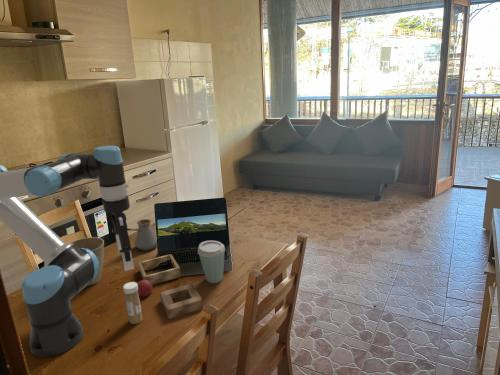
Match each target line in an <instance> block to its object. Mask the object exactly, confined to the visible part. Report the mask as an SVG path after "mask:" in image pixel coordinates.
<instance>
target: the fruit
mask: <svg viewBox="0 0 500 375" xmlns="http://www.w3.org/2000/svg"><path fill="white" fill-rule="evenodd" d="M136 283H137V285H138V294H139V296H140V297H143V298H144V297H147V296H149V295H150V294H151V292H152V290H153V285H152V284H151V282H150V281H148V280H143V279H142V280H139V281H138V282H136Z"/></svg>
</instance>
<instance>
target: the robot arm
mask: <svg viewBox="0 0 500 375" xmlns="http://www.w3.org/2000/svg"><path fill="white" fill-rule="evenodd" d="M89 179H90V180H98V186H99V190H100V197H101V199H102V206H103V210H104V212H105V213H108V214H111V216H110V217H111V221H112V224H113V228H114V229H115V230H114V229H113V230H114V231H115V232H114V234H115V240H116V244H117V245H116V246H117V252H118V254H121V258H122V263H123V268H124V272H129V271H130V270H135V266H134V260H133V254H132V253H133V252H132V250H133V248H132V246H131V242H130V241H131V240H130V236H129V231H127V228H128V224H127V216H126V214H125V211H128V210H129V209H130V206H131V204H130V200H129V196H128V188H129V187H130V186H129V184H127V183H126V176H125V169H124V159H123V157H122V152H121V148H120V147H118V146H117V145H103V146H102V145H101V146H98V147H97V146H96V147H95V148H94V149H93V152H92V153H75V152H73V153H67V154H63V155H60V156H59V158H58V160H56V161H53V162H50V163H47V164H43V165H37V166H30V167H26V168H25V167H24V168H20V169H19V168H18V169H13V170H8V169H7V168H6V167H5V166H4V165H2V164H0V221H1V222H2V223H3V224H4V225H5V226H6V227H7V228H8V229H9V230H10V231H11V232H12V233H13V234H14V235H15V236H16V237H18V239H19V240H21V242H23V243H24V245H26V246H27V247H28V248H29V249H30V250H31V251H32V252H33V253H34V254H35V255H37V257H39V259H40V260H42V261H43V262H44V265H43V266H42V267H41V268H37V269H34V270H33V271H32V272H30V273H29V274H28V275H26V277H24V279H23V281H22V283H21V292H22V294H21V295H22V299H23V302H24V305H25V308H26V311H27V315H28V318H29V322H30V334H29V342H28V343H29V348H30V349H29V350H30V353H31V354H32V353H33V354H32V355H34V356H35V355H36V357H39V358H48V357H49V358H50V357H55V356H58V355H61V354H63V353H66V352H68V351H69V350H71V349H72V348H74V347H75V346H77V345H78V344H79V343H80V341H81V340H82V338H83V336H84V328H83V326H82V323H81V322H80V320H79V319H78V318H77V317H76V315H75V314H74V313H73V309H72V304H71V300H72V299H73V298H75V297H76V296H77V295H78V294H79V293H80V292H81V291H83V289H84V288H86V287H87V286H90V285H89V284H90V283H91V282H92V281H93V279H94V278H95V277H96V276H97V275H98V272H99V262H98V259H97V257H96V255H95V254H94V253H93V252H92V251H91V250H89V249H85V248H80V249H78V248H77V247H76V246H75V245H74V244H69V243H66V242H65V241H64V240H63V239H62V238H61V237H60V236H59V235H57V233H56V232H55V231H54V230H52V229H51V227H49V226H48V225H47V223H45V222H44V221H43V220H42V219H41V218H40V217H39V216H38V215H37V214H36V213H35V212H34V211H33V210H32V209H31V208H29V206H27V204H25V202H23V201H22V199H20V198H19V197H25V196H36V197H40V198H41V197H46V196H49V195H52V194H55V193H56V192H57V191H60V190H62V189H65V188H66V187H69V186H70V185H73V184H75V183H77V182H80V181H82V180H89Z"/></svg>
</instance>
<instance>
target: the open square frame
mask: <svg viewBox="0 0 500 375" xmlns="http://www.w3.org/2000/svg"><path fill="white" fill-rule="evenodd" d="M167 260H171V263H172V265H173V267H174V268H173V267H172V268H170V269H167V270H162V271H159V272H154V273H151V274H147V273H146V271H149V270H153V269H155V267H157V266H158V265H159V264H160V263H162V262H165V261H167ZM137 265H138V268H139V273H140V276H141V277H142V280H148V281H150V282H151V284H152V286H153V285H157V284H159V283H160V284H161V283H163V282H164V283H165V282H168V281H171V280H174V279H179V278H181V277H182V274H181V273H182V272H181V268H180V267H181V266H179V264H178V263H177V261H176V259H175V258H174V256H173V254H166V255H162V256H158V257H154V258H150V259H146V260H145V259H144V260H142V261H138V264H137ZM172 265H171V266H172ZM157 268H158V267H157Z"/></svg>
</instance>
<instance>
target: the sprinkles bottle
mask: <svg viewBox="0 0 500 375" xmlns="http://www.w3.org/2000/svg"><path fill="white" fill-rule="evenodd" d="M137 283H138V282H135V281H130V282H127V283H125V284H124V285H123V286H122V290H123V293H124V299H125V305H126V310H127V315H128V321H129V323H130V324H132V325H137V324H139V323H141V322H142V321H143V320H144V319H143V318H144V317H143V313H142V307H141V300H140V297H139V294H138V285H137Z"/></svg>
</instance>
